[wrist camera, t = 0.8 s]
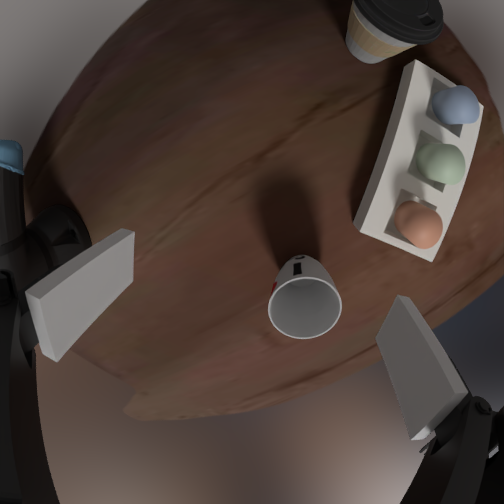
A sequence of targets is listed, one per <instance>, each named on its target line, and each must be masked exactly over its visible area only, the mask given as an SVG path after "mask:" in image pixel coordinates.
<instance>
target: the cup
mask: <svg viewBox="0 0 504 504" xmlns="http://www.w3.org/2000/svg"><path fill="white" fill-rule="evenodd" d="M341 309H342V303H341V298H340V296H339V293H338V291H337V289H336V287H335V284H334V282H333V280H332V278H331V276H330V275H329V273H328V272H327V271H326V270H325V268H324V267H323V266H322V265H321V263H319V262H318V261H317V260H315V259H313V258H312V257H310V256H307V255H297V256H294V257H292V258H291V259H290V260H288V261H287V262H286V263H285V264H284V265H283V266H282V268H281V269H280V271H279V273H278V275H277V277H276V279H275V282H274V284H273V288H272V292H271V297H270V301H269V305H268V313H269V318H270V320H271V322H272V324H273V325H274V326H275V328H276V329H277V330H279V331H280V332H281V333H283V334H285V335H287V336H289V337H293V338H298V339H308V338H314V337H317V336H320V335H322V334H324V333H326V332H327V331H329V330H330V329H331V328H332V327H333V326H334V325H335V324H336V322H337V321H338V319H339V317H340V314H341Z"/></svg>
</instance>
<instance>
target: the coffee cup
mask: <svg viewBox="0 0 504 504" xmlns="http://www.w3.org/2000/svg"><path fill="white" fill-rule="evenodd" d="M442 29H443V10H442V7H441V4H440V2H439V0H353V1H352V6H351V11H350V15H349V20H348V30H347V34H346V45H347V47H348V49H349V51H350V52H351V53H352V54H353V55H354V56H355V57H356V58H357V59H359V60H361V61H362V62H365V63H377V62H380V61H382V60H384V59H386V58H388V57H392V56H394V55H396V54H398V53H401V52H403V51H405V50H407V49H409V48H411V47H413V46H415V45H423V44H428V43H431V42H433V41H434V40H436V39H437V37H438V36H439V35H440V33H441V31H442Z"/></svg>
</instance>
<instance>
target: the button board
mask: <svg viewBox="0 0 504 504" xmlns="http://www.w3.org/2000/svg"><path fill="white" fill-rule="evenodd" d="M455 86H457V85H455V84H454V83H452V82H451V81H449V80H448V79H446V78H445V77H444V76H442V75H440V74H439V73H437V72H436V71H434V70H433V69H431V68H429V67H428V66H426V65H425V64H423V63H421V62H419V61H418V60H416V59H415V60H414V61H412V62H411V63H409V64H408V65H406V66H404V69H403V73H402V77H401V81H400V85H399V89H398V92H397V96H396V100H395V103H394V107H393V110H392V114H391V117H390V120H389V123H388V127H387V130H386V133H385V136H384V139H383V142H382V145H381V148H380V151H379V154H378V157H377V160H376V163H375V166H374V169H373V171H372V174H371V177H370V180H369V182H368V185H367V188H366V190H365V193H364V196H363V198H362V201H361V203H360V206H359V209H358V211H357V214H356V216H355V219H354V221H353V224H354V225H355V227H356V228H357V229H358V230H359V231H360V232H362V233H364V234H367V235H369V236H372V237H374V238H377V239H379V240H382V241H384V242H386V243H389V244H391V245H394V246H396V247H398V248H401V249H403V250H405V251H408V252H410V253H412V254H415V255H417V256H419V257H421V258H424V259H426V260H428V261H430V262H432V261H433V259H434V257H435V255H436V253H437V251H438V249H439V246H440V244H441V242H442V240H443V237H444V235H445V233H446V231H447V228H448V226H449V223H450V221H451V218H452V216H453V213H454V211H455V208H456V206H457V203H458V200H459V197H460V195H461V192H462V189H463V186H464V183H465V180H466V177H467V173H468V170H469V167H470V163H471V160H472V156H473V153H474V149H475V145H476V141H477V137H478V132H479V128H480V123H481V118H482V113H483V107H484V106H482V105H481V104H480V103H479V102H478V103H479V107H480V114H479V118H478V119H477V121H476V122H474V123H471V124H453V125H447V124H444V123H442V122H441V121H440V120H438V118H437V117H436V116H435V114H434V112H433V109H432V97H433V95H434V94H435V93H436V92H438V91H441V90H445V89H448V88H452V87H455ZM427 143H437V144H452V145H455V146H456V147H458V148H459V149H460V151H461V152H462V154H463V156H464V159H465V165H466V168H465V174H464V176H463V178H462V180H461V181H460V182H459V183H457V184H455V185H448V184H445V183H441V182H438V181H435V180H431V179H428V178H425V177H424V176H423V175H422V174H421V173H420V172H419V170H418V168H417V165H416V154H417V151H418V150H419V148H420V147H421V146H422V145H424V144H427ZM409 200H412V201H416V202H418V203H420V204H422V205H424V206H426V207H428V208H430V209H432V210H434V211H436V212H437V213H438V214H439V215H440V217H441V219H442V223H443V231H442V235H441V237H440V239H439V241H438V242H437V243H436V244H435V245H434V246H433V247H431V248H428V249H420V248H418V247H416V246H415V245H414V244H413V243H412V242H410V241H409V240H408V239H407V238H406V237H405V236H403V235H402V234H401V233H400V232H399V231H398V230H397V229H396V227H395V223H394V215H395V212H396V210H397V208H398V207H399V205H400V204H402V203H403V202H405V201H409Z"/></svg>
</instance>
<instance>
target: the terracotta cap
mask: <svg viewBox="0 0 504 504" xmlns="http://www.w3.org/2000/svg"><path fill="white" fill-rule="evenodd" d="M394 223H395V227H396V229H397V230H398V231H399V232H400V233H401V234H402V235H403V236H405V237H406V238H407V239H408V240H409V241H410V242H412V243H413V244H414V245H415V246H416V247H418V248H420V249H428V248H431V247H433V246H434V245H435V244H436V243H437V242H438V241H439V239H440V237H441V235H442V231H443V223H442V219H441V217H440V215H439V214H438V213H437V212H436V211H434V210H432V209H430V208H428V207H426V206H424V205H422V204H420V203H418V202H416V201H412V200H409V201H405V202H403V203H402V204H400V205H399V207H398V208H397V210H396V212H395V215H394Z"/></svg>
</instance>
